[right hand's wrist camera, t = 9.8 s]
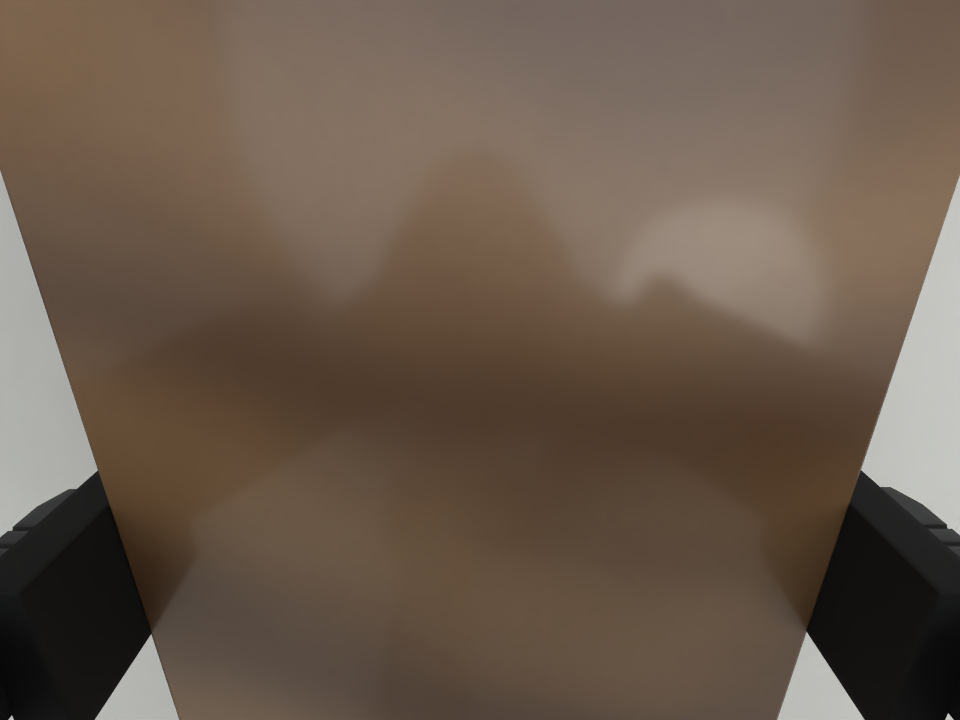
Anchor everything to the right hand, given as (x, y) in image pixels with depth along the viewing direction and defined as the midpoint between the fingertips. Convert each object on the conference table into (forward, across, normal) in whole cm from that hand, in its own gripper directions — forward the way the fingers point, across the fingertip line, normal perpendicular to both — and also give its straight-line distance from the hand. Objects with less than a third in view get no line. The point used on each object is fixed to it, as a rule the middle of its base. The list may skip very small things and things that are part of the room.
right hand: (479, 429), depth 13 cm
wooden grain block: (+4, 0, -4) cm, 6 cm away
